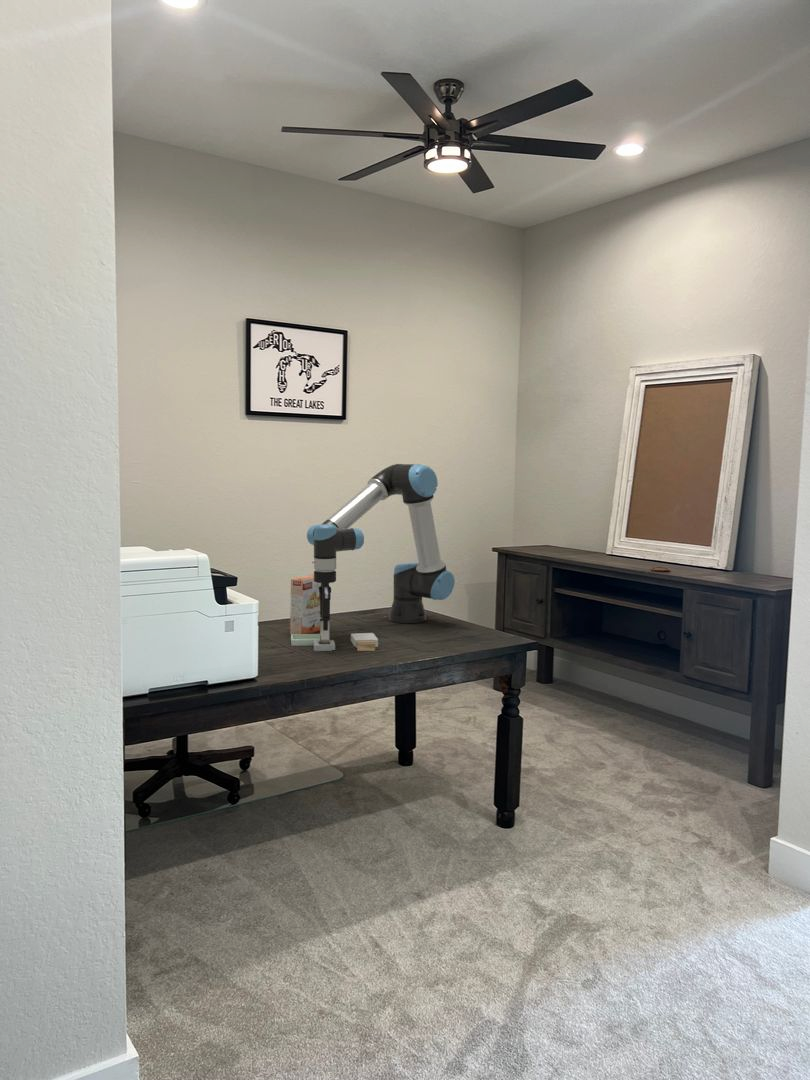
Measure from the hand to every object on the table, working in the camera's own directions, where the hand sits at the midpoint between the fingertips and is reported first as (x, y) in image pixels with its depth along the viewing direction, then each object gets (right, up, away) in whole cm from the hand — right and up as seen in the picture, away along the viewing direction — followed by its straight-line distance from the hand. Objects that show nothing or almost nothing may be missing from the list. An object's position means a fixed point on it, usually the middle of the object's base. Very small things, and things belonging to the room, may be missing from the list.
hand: (324, 638), depth 267 cm
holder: (0, -4, 0) cm, 4 cm away
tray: (-7, -3, +8) cm, 10 cm away
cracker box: (-9, -1, +23) cm, 25 cm away
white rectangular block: (+13, -3, +8) cm, 16 cm away
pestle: (0, -2, 0) cm, 2 cm away
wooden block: (+14, -4, 0) cm, 15 cm away
